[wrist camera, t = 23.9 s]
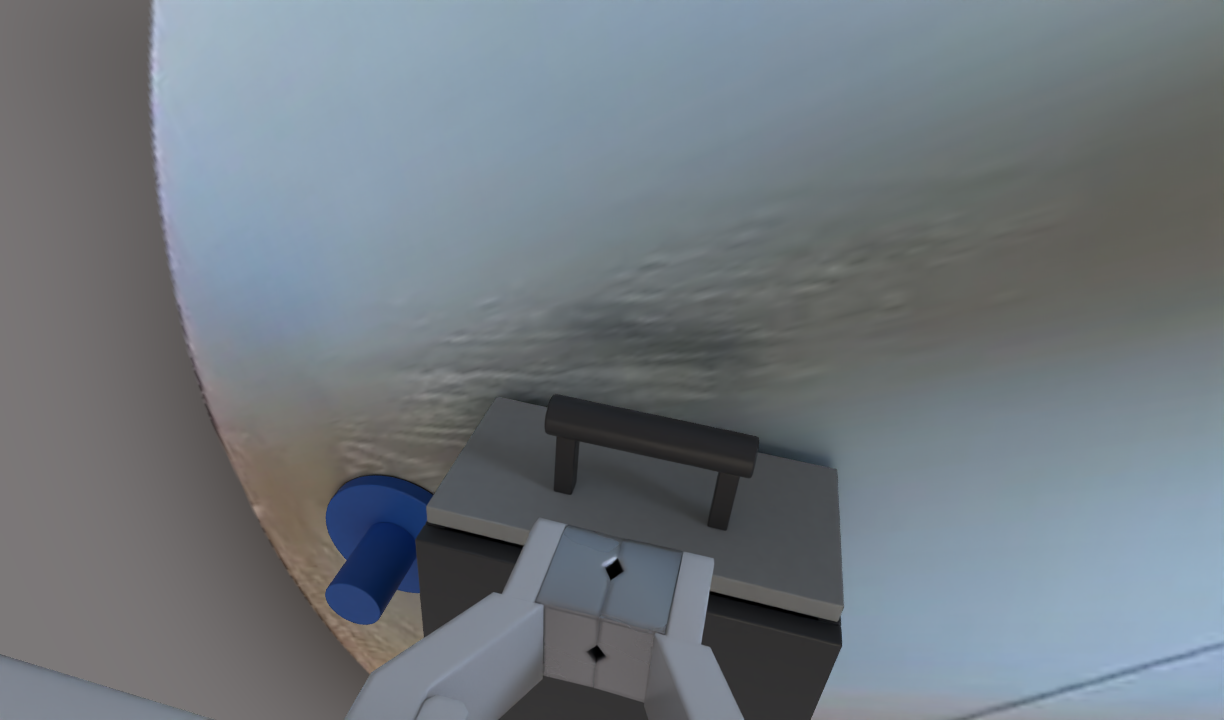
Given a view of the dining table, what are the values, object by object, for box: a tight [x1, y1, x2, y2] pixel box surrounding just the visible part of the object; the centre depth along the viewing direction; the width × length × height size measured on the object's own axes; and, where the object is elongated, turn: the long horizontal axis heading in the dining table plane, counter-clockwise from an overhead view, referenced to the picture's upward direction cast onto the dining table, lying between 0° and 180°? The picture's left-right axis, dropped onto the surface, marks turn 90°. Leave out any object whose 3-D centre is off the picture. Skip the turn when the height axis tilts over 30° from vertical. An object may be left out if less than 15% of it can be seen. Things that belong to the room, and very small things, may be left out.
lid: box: [325, 475, 433, 625], centre depth 35 cm, size 8×8×5 cm
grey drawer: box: [426, 394, 844, 622], centre depth 30 cm, size 20×14×7 cm
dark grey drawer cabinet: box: [415, 521, 842, 720], centre depth 32 cm, size 17×15×8 cm
